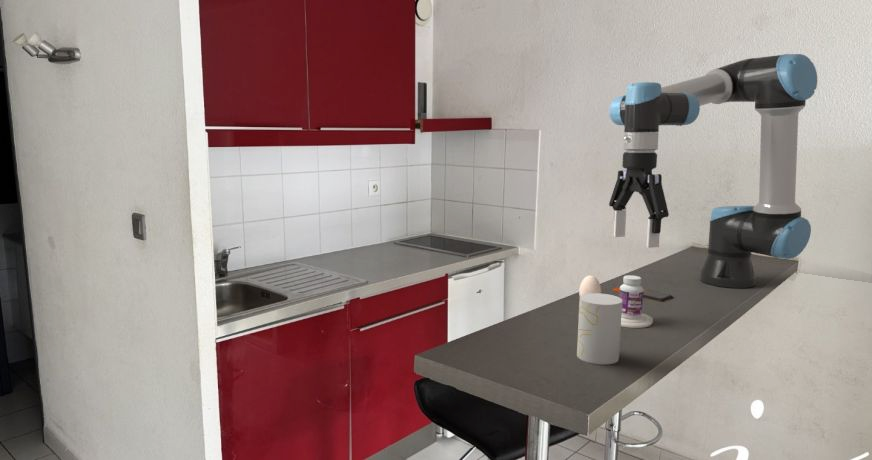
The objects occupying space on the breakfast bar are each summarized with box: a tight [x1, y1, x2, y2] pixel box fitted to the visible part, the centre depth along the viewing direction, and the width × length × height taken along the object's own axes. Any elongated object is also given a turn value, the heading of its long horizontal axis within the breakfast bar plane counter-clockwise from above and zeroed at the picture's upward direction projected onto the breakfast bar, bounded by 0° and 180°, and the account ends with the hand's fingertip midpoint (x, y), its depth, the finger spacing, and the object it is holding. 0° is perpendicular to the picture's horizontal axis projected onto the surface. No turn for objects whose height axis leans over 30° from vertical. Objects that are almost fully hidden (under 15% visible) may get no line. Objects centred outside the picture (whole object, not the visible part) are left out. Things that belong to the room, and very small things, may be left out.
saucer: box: [621, 312, 654, 329], centre depth 143 cm, size 11×11×1 cm
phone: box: [612, 286, 674, 303], centre depth 166 cm, size 6×1×15 cm
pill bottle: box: [618, 274, 644, 319], centre depth 142 cm, size 5×5×10 cm
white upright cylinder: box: [576, 292, 622, 365], centre depth 119 cm, size 8×8×12 cm
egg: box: [578, 275, 602, 297], centre depth 155 cm, size 6×6×8 cm
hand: (635, 241), depth 142 cm, fingers open, 13 cm apart
